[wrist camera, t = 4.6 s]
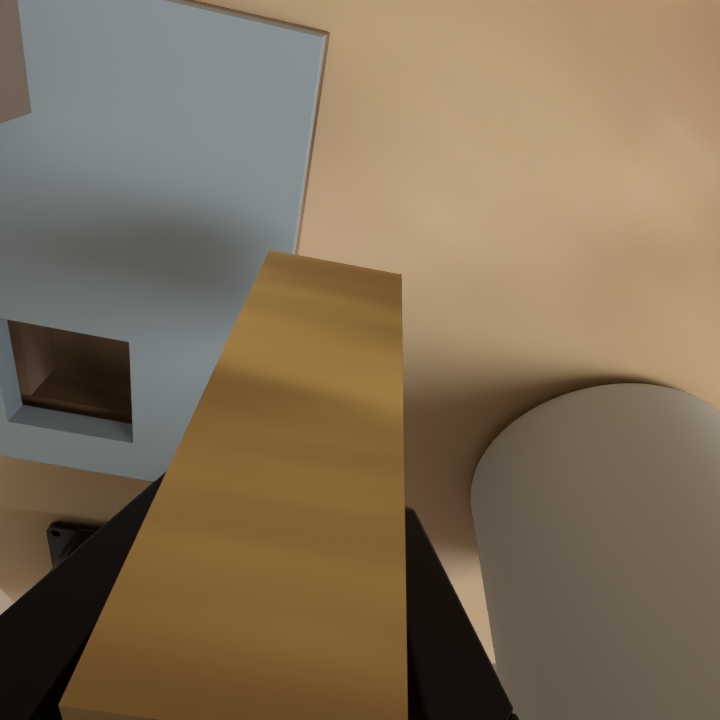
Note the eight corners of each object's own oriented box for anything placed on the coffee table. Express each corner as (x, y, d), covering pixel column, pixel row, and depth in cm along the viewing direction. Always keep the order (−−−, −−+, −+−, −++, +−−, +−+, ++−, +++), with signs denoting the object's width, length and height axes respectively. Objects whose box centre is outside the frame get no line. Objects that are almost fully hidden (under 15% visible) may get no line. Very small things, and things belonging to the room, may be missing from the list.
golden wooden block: (375, 379, 15) (351, 856, 7) (259, 358, 15) (94, 822, 7) (401, 274, 13) (408, 753, 5) (269, 250, 13) (57, 705, 5)
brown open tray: (273, 420, 26) (258, 474, 23) (-176, 340, 25) (-252, 387, 22) (329, 32, 17) (317, 41, 14) (-367, -130, 16) (-538, -158, 13)
